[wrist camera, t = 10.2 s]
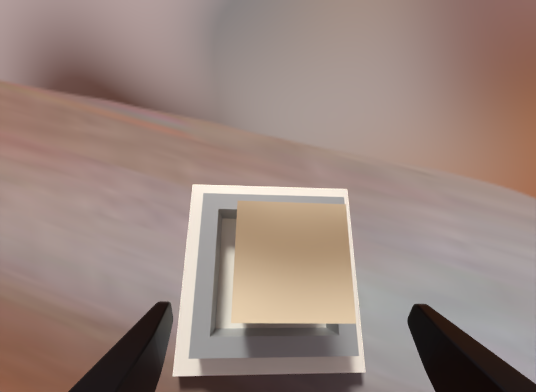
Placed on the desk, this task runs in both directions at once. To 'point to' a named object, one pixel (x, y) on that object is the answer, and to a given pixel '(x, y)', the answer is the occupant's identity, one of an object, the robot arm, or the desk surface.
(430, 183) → the desk surface
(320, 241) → the block
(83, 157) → the desk surface
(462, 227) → the desk surface
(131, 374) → the robot arm
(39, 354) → the desk surface
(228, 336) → the square tray
